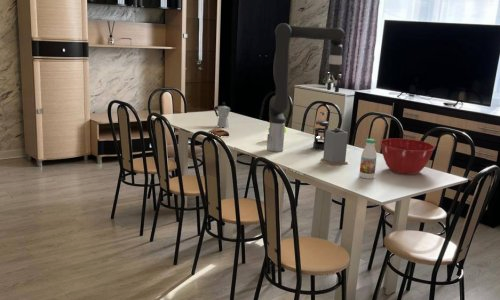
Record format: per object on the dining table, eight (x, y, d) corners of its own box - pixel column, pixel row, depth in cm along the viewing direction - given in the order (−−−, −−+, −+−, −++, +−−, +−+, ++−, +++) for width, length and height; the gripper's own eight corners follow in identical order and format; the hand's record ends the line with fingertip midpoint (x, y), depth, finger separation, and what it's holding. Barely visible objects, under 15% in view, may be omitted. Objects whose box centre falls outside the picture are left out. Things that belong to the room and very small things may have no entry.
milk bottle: (357, 174, 269) (361, 137, 264) (371, 175, 270) (375, 138, 265) (361, 179, 262) (365, 140, 257) (376, 179, 262) (380, 141, 258)
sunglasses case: (206, 131, 354) (210, 123, 355) (213, 136, 358) (218, 128, 359) (218, 137, 340) (223, 128, 340) (226, 142, 344) (230, 133, 344)
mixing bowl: (406, 181, 262) (409, 151, 258) (366, 167, 285) (369, 140, 282) (442, 175, 277) (446, 147, 273) (401, 162, 300) (404, 136, 297)
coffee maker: (233, 127, 376) (234, 103, 371) (226, 129, 368) (227, 104, 364) (217, 124, 383) (217, 100, 379) (209, 126, 376) (210, 101, 372)
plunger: (332, 154, 286) (335, 129, 283) (326, 151, 292) (329, 127, 289) (342, 154, 289) (345, 129, 286) (336, 151, 295) (338, 126, 292)
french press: (317, 150, 319) (320, 113, 313) (308, 146, 327) (311, 111, 321) (332, 149, 324) (336, 113, 319) (323, 145, 332) (326, 110, 327)
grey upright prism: (330, 165, 285) (333, 133, 281) (320, 160, 295) (323, 129, 290) (347, 164, 289) (350, 132, 285) (336, 159, 299) (339, 129, 295)
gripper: (323, 62, 304) (320, 89, 308) (336, 64, 291) (333, 92, 295) (334, 62, 307) (331, 89, 310) (347, 64, 294) (344, 92, 298)
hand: (332, 91), depth 303 cm, fingers open, 8 cm apart
